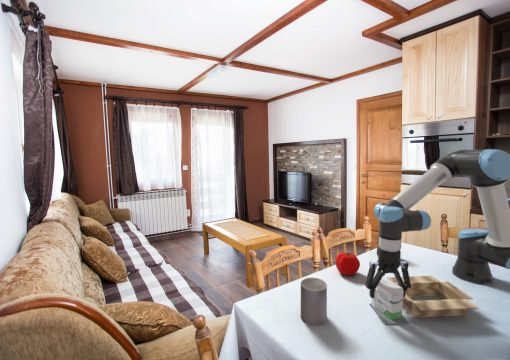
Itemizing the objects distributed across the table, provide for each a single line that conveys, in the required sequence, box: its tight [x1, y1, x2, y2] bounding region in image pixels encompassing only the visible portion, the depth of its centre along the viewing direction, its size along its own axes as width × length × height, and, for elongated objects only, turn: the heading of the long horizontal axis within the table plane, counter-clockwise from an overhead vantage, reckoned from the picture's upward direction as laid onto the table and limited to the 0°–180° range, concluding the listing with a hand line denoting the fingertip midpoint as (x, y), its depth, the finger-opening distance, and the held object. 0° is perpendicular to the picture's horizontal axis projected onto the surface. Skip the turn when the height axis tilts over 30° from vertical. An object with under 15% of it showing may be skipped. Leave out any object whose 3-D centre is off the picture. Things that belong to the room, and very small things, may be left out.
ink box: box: [376, 277, 403, 320], centre depth 103 cm, size 9×5×12 cm, turn 14°
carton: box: [385, 275, 480, 318], centre depth 108 cm, size 27×25×6 cm
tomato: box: [335, 251, 361, 276], centre depth 137 cm, size 12×12×11 cm
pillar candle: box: [300, 277, 328, 327], centre depth 101 cm, size 10×10×15 cm
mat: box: [368, 303, 411, 326], centre depth 104 cm, size 9×13×1 cm
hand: (386, 305), depth 103 cm, fingers open, 9 cm apart
